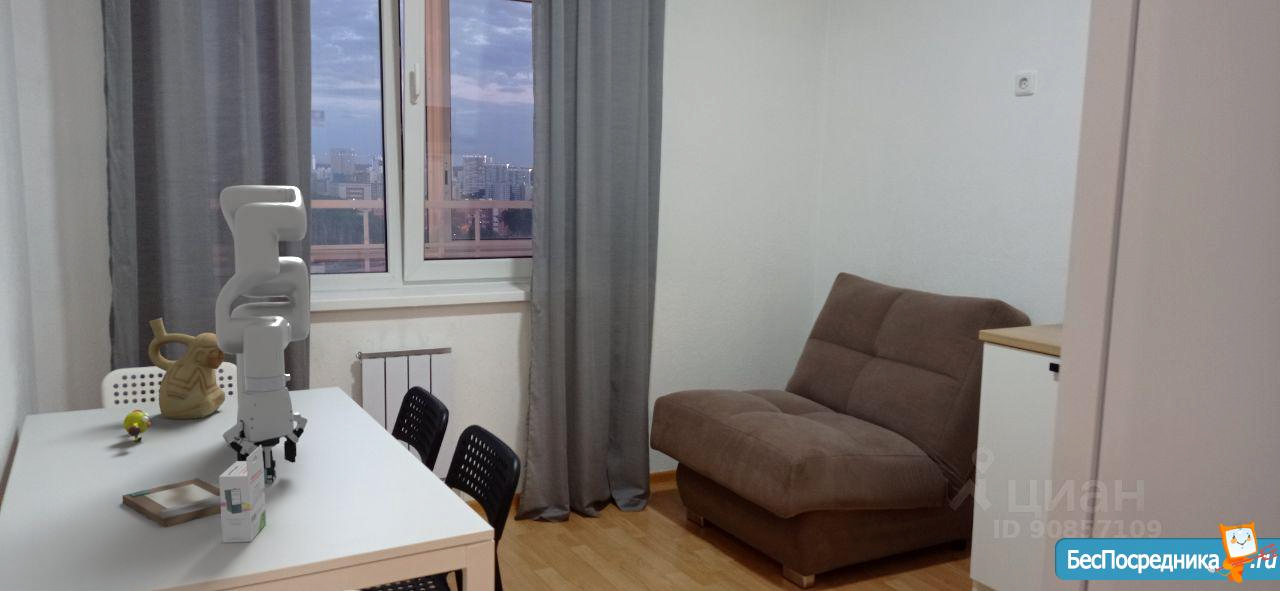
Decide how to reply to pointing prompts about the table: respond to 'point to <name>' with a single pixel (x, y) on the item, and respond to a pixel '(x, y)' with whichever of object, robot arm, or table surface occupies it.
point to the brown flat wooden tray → (176, 502)
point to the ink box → (243, 499)
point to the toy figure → (136, 423)
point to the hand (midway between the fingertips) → (267, 466)
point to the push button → (268, 458)
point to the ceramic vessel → (188, 374)
